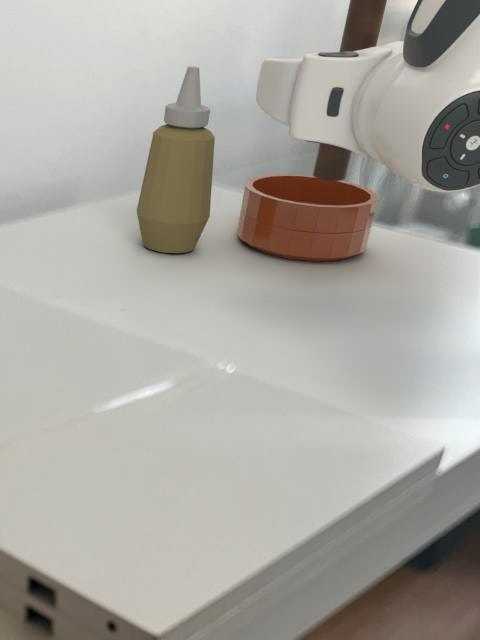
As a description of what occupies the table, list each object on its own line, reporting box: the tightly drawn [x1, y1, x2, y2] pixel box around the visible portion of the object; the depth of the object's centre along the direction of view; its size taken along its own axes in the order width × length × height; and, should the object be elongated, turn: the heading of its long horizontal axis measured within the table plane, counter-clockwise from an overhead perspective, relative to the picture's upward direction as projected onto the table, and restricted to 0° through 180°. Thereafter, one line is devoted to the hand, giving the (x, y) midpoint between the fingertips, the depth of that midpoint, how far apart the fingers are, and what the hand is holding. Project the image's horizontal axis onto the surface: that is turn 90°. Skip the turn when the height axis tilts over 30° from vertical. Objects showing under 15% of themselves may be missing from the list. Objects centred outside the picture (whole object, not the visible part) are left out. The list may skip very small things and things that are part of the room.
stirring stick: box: [312, 0, 388, 181], centre depth 98 cm, size 3×3×16 cm
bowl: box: [236, 173, 379, 262], centre depth 118 cm, size 15×15×6 cm
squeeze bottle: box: [136, 66, 216, 254], centre depth 111 cm, size 8×8×18 cm
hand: (348, 76), depth 98 cm, fingers closed on stirring stick, 3 cm apart
